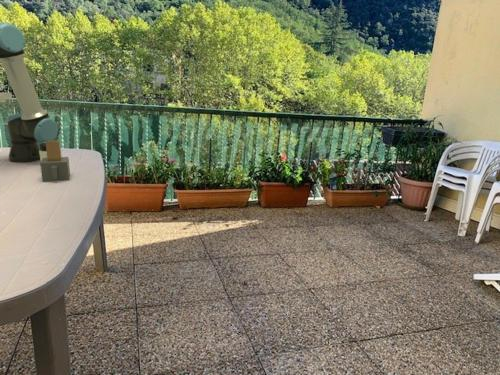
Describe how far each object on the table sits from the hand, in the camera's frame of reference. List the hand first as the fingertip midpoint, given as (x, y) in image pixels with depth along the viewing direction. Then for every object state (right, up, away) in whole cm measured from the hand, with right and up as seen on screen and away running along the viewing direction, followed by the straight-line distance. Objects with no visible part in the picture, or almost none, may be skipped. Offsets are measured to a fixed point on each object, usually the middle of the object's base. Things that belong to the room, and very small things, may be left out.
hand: (8, 97), depth 152 cm
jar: (+3, -27, +28) cm, 39 cm away
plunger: (+12, -30, +14) cm, 35 cm away
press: (+12, -32, +13) cm, 37 cm away
